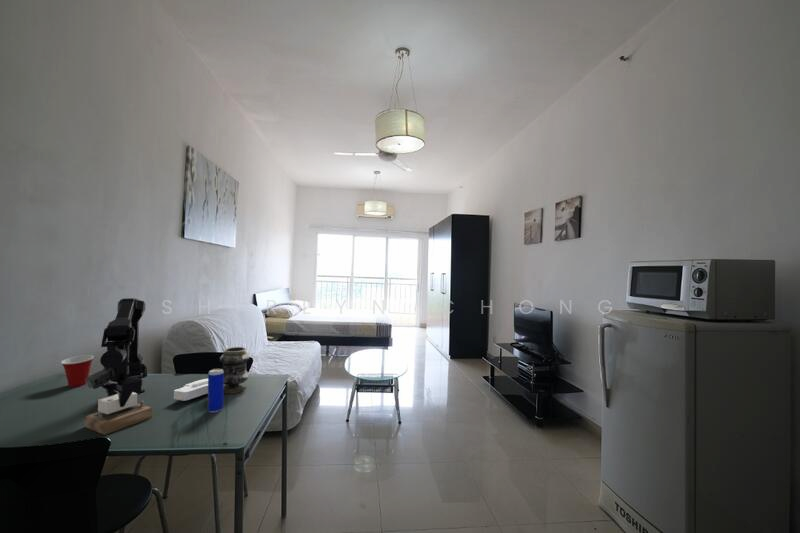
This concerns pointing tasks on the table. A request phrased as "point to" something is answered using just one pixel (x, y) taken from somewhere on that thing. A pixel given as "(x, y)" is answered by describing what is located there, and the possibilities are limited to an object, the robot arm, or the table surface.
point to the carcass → (118, 418)
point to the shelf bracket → (192, 390)
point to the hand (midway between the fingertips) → (117, 405)
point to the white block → (115, 403)
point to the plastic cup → (77, 369)
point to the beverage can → (215, 390)
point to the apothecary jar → (234, 369)
